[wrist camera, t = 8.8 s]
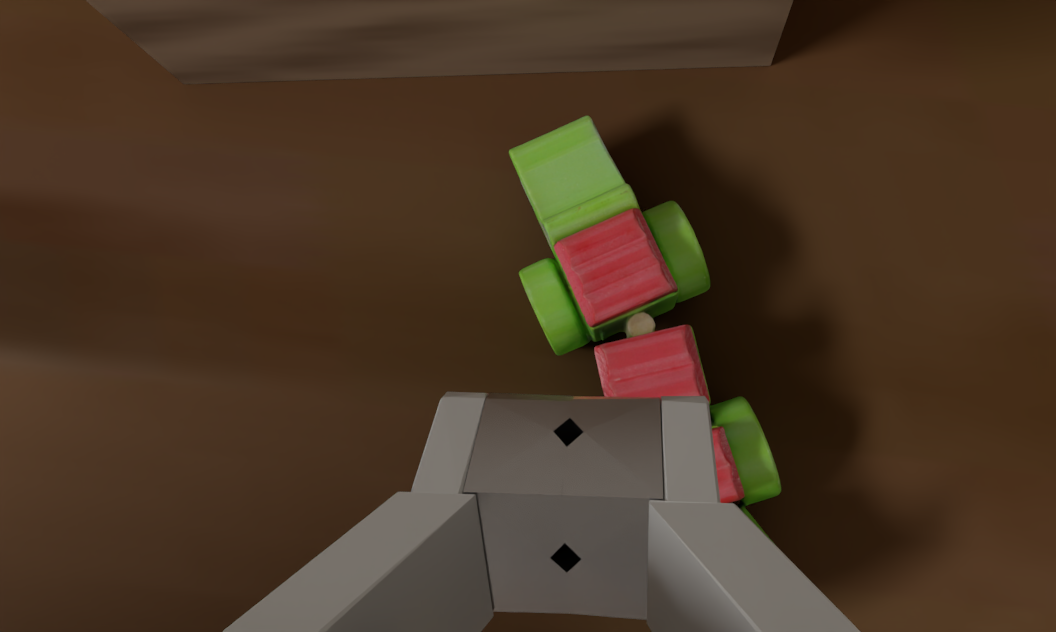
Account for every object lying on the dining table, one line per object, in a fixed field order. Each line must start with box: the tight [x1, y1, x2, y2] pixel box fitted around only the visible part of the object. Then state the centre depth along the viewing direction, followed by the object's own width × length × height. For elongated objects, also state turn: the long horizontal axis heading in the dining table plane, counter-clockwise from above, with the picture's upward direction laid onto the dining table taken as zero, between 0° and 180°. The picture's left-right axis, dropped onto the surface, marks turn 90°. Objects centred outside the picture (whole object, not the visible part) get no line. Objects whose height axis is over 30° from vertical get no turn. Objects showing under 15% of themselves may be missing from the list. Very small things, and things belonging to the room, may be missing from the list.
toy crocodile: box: [509, 116, 781, 543], centre depth 29 cm, size 20×7×6 cm, turn 18°
